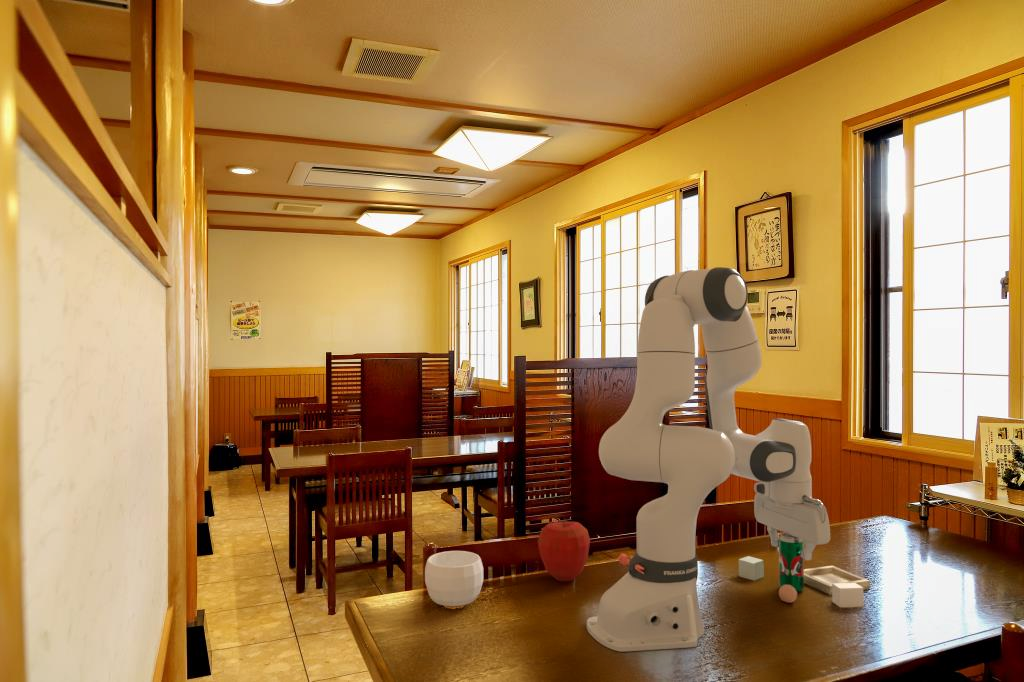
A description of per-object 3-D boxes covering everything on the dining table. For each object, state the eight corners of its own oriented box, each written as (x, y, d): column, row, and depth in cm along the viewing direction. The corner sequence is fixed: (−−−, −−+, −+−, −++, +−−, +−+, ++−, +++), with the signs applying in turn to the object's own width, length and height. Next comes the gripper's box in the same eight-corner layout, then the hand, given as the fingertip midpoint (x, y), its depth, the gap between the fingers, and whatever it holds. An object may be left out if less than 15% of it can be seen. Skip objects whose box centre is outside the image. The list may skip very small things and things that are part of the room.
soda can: (805, 587, 153) (805, 534, 153) (801, 594, 149) (801, 539, 149) (781, 583, 156) (781, 530, 156) (777, 590, 151) (776, 536, 151)
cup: (412, 605, 144) (412, 559, 144) (456, 589, 153) (455, 546, 153) (452, 621, 136) (452, 572, 136) (495, 603, 145) (495, 557, 145)
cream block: (840, 607, 142) (839, 588, 142) (832, 602, 145) (832, 583, 145) (863, 607, 142) (863, 587, 142) (855, 601, 145) (855, 582, 145)
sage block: (753, 580, 158) (753, 563, 158) (738, 576, 161) (738, 559, 161) (763, 577, 160) (763, 560, 160) (748, 572, 164) (748, 556, 164)
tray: (829, 594, 149) (829, 586, 149) (794, 578, 159) (794, 570, 159) (869, 588, 152) (869, 580, 152) (832, 573, 163) (832, 565, 163)
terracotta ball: (786, 606, 142) (786, 588, 142) (775, 600, 146) (774, 583, 146) (800, 604, 143) (800, 586, 143) (789, 598, 147) (788, 581, 147)
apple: (578, 567, 168) (577, 510, 168) (599, 583, 156) (599, 522, 156) (530, 573, 164) (530, 514, 164) (549, 590, 152) (548, 527, 152)
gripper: (837, 500, 144) (838, 565, 144) (771, 480, 163) (771, 538, 163) (813, 503, 142) (813, 569, 142) (749, 482, 161) (749, 541, 161)
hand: (790, 552), depth 153 cm, fingers open, 8 cm apart
